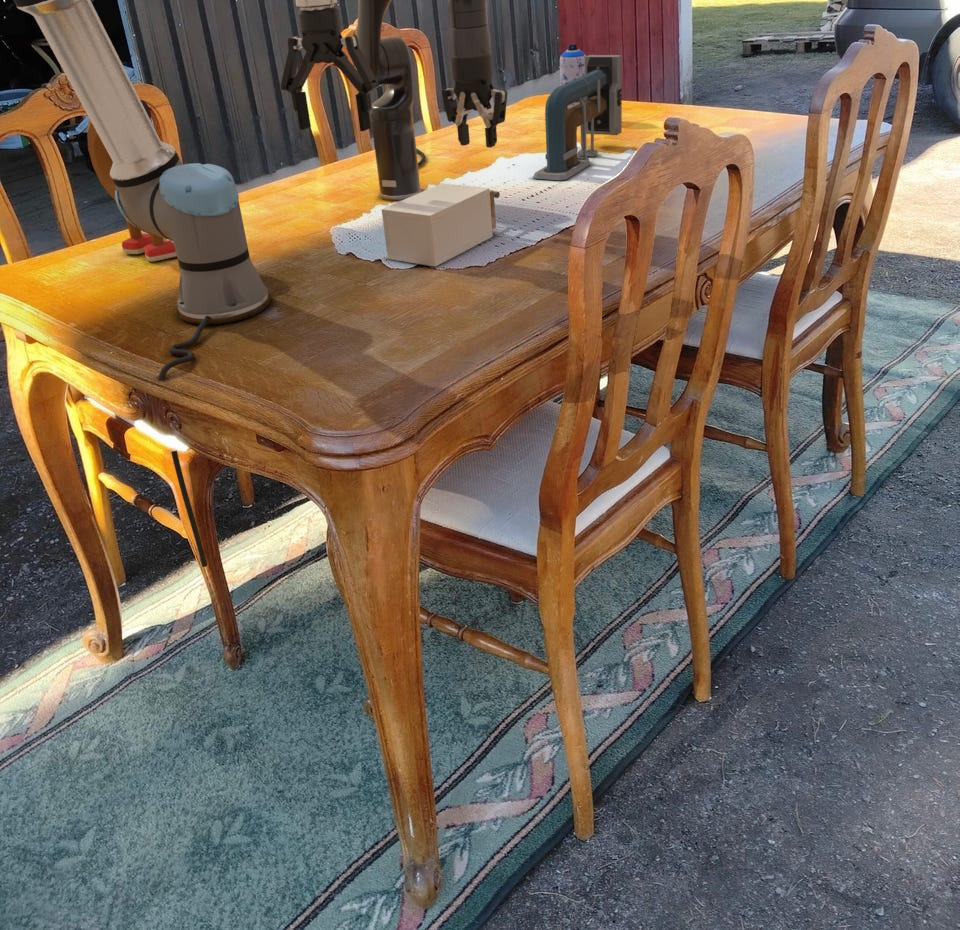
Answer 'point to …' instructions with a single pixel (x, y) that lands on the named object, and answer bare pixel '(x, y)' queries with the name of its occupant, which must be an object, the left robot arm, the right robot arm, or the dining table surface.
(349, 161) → the dining table surface
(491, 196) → the drawer
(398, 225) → the beige cardboard box
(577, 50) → the aerosol can
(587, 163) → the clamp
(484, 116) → the right robot arm
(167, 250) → the toy
